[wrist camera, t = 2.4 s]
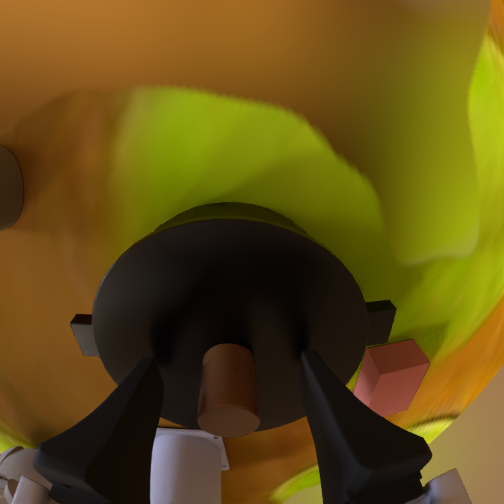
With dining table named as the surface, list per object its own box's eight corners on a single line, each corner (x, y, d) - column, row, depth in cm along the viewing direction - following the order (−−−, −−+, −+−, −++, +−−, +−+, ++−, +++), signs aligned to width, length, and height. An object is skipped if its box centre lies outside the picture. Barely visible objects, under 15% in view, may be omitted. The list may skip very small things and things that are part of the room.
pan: (353, 360, 20) (372, 403, 16) (123, 370, 20) (107, 414, 15) (379, 198, 15) (422, 222, 11) (76, 215, 15) (34, 242, 11)
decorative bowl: (171, 462, 26) (161, 570, 12) (160, 510, 37) (155, 568, 23) (-28, 376, 21) (-71, 447, 7) (25, 460, 32) (7, 511, 18)
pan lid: (338, 408, 17) (357, 465, 12) (139, 415, 16) (126, 473, 12) (377, 206, 12) (444, 248, 7) (70, 223, 11) (6, 270, 7)
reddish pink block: (395, 387, 22) (407, 410, 20) (351, 396, 22) (361, 422, 19) (414, 338, 20) (430, 362, 17) (366, 347, 20) (380, 375, 17)
